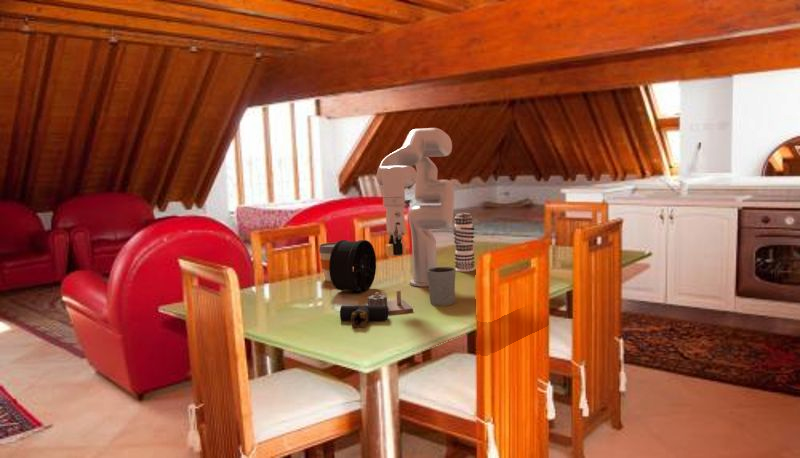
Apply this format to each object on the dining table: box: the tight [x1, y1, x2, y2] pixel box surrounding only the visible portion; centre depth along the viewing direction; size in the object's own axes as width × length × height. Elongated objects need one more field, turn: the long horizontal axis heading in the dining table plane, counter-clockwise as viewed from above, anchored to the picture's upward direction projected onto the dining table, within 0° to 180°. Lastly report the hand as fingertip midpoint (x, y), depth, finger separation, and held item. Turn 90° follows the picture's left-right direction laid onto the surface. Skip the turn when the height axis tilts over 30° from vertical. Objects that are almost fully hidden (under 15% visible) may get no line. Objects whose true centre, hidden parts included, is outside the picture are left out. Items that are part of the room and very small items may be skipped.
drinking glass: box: [427, 266, 456, 306], centre depth 226 cm, size 10×10×12 cm
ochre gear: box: [385, 243, 406, 257], centre depth 223 cm, size 6×6×4 cm
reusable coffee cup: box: [318, 241, 338, 282], centre depth 274 cm, size 12×13×15 cm
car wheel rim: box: [329, 239, 377, 293], centre depth 250 cm, size 20×10×20 cm, turn 156°
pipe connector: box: [339, 305, 389, 328], centre depth 205 cm, size 12×5×15 cm
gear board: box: [364, 289, 414, 316], centre depth 220 cm, size 14×13×6 cm
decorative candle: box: [453, 212, 475, 272], centre depth 282 cm, size 9×9×25 cm
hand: (395, 253), depth 223 cm, fingers closed on ochre gear, 6 cm apart
